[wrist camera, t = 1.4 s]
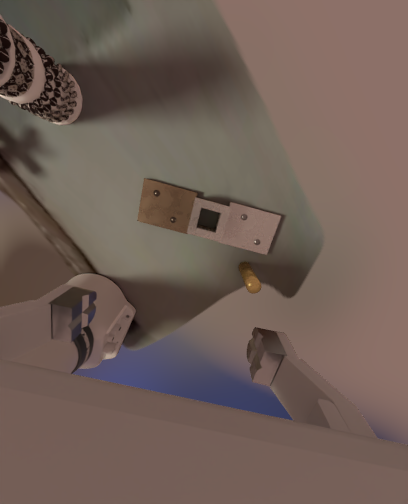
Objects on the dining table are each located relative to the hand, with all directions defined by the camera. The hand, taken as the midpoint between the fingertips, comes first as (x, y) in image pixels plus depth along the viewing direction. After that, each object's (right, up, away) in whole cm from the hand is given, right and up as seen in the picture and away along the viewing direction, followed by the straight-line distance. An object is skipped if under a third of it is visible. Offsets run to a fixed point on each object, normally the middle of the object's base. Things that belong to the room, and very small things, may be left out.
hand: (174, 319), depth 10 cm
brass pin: (+10, 0, +30) cm, 32 cm away
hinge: (+2, +10, +28) cm, 30 cm away
